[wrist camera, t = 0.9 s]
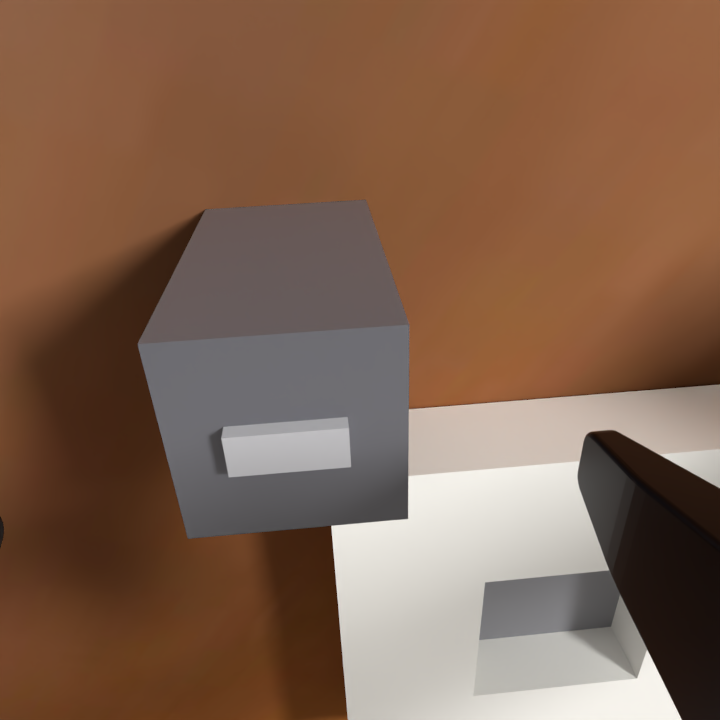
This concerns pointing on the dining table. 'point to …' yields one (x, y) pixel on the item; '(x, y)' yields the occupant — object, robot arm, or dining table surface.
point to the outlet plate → (507, 566)
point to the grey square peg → (282, 372)
